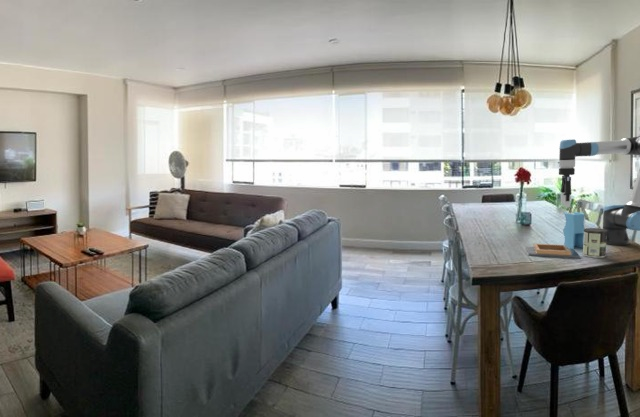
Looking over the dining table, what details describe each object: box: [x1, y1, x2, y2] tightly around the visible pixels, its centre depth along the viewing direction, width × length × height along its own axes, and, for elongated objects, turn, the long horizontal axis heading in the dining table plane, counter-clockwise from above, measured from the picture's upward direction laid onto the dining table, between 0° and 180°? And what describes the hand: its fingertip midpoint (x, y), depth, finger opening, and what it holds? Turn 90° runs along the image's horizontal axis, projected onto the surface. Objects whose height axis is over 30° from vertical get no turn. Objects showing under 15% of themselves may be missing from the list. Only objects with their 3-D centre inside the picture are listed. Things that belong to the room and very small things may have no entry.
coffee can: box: [582, 227, 607, 259], centre depth 213 cm, size 10×10×14 cm
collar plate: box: [525, 243, 581, 259], centre depth 221 cm, size 24×17×3 cm
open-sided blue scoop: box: [562, 211, 586, 250], centre depth 232 cm, size 8×8×20 cm
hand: (565, 205), depth 224 cm, fingers open, 13 cm apart
